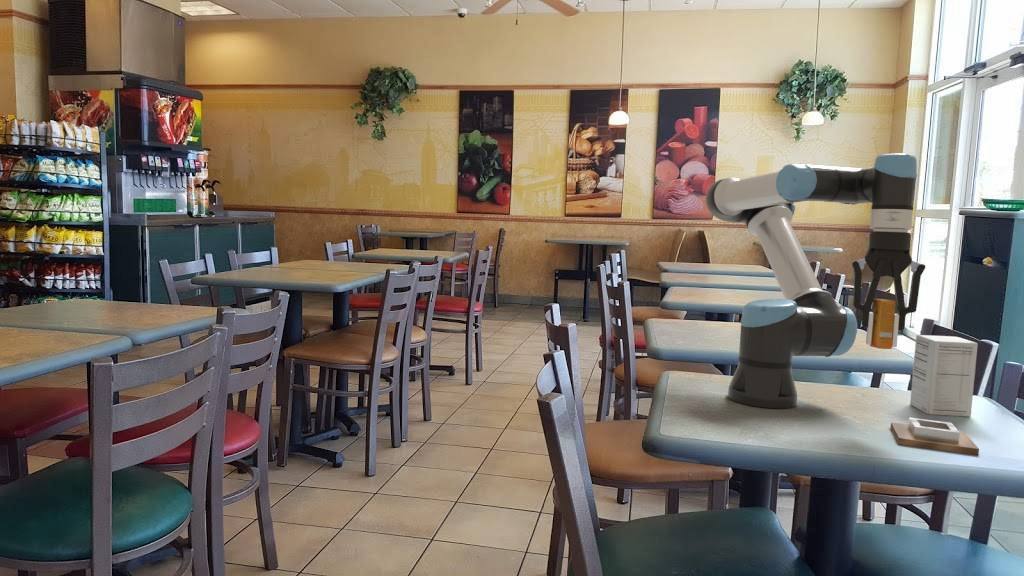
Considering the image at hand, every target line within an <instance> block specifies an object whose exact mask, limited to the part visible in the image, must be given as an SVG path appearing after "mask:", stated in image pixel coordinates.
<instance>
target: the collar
mask: <svg viewBox="0 0 1024 576" xmlns="http://www.w3.org/2000/svg"><path fill="white" fill-rule="evenodd" d="M908 428H909V429H910V431H911V433H912V435H913V436H914V437H918V438H925V439H932V440H940V441H947V442H954V443H959V436H960V432H959V430H958V429H957V427H956V426H955V425H954V424H953V423H952V422H950V421H949V422H948V421H939V420H932V419H926V418H925V419H924V418H917V417H909V418H908Z"/></svg>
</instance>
